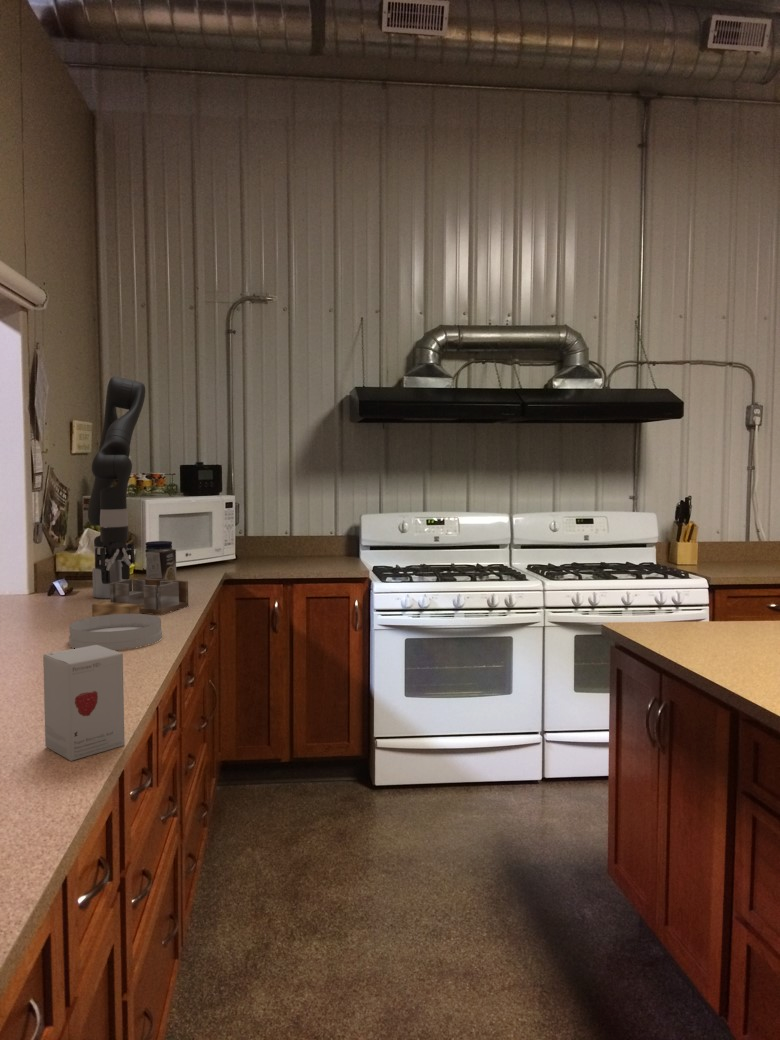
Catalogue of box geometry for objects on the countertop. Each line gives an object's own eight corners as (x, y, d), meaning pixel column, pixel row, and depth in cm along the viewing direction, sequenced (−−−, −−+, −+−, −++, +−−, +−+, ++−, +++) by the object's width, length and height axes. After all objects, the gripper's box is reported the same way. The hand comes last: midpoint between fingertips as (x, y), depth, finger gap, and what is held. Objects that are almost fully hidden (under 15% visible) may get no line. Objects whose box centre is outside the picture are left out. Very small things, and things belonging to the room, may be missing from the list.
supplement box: (70, 762, 110) (66, 663, 109) (44, 747, 116) (40, 653, 115) (127, 745, 117) (124, 652, 116) (99, 732, 123) (96, 643, 122)
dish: (92, 631, 199) (91, 613, 198) (174, 632, 198) (173, 613, 198) (52, 652, 177) (51, 631, 176) (144, 653, 176) (143, 632, 176)
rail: (92, 619, 214) (92, 604, 213) (101, 617, 217) (101, 601, 217) (130, 622, 210) (130, 607, 209) (139, 620, 213) (139, 604, 213)
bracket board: (110, 611, 225) (109, 583, 224) (139, 603, 238) (139, 576, 238) (161, 614, 219) (160, 586, 219) (188, 606, 233) (187, 579, 232)
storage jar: (140, 582, 280) (139, 543, 279) (157, 578, 289) (156, 540, 288) (161, 584, 276) (160, 544, 275) (178, 580, 285) (177, 541, 284)
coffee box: (164, 601, 241) (163, 552, 240) (146, 600, 242) (144, 551, 241) (177, 596, 250) (176, 549, 249) (160, 596, 251) (159, 548, 250)
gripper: (119, 523, 220) (121, 577, 221) (85, 526, 206) (88, 584, 207) (140, 523, 217) (142, 578, 218) (108, 527, 204) (110, 585, 205)
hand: (116, 581), depth 213 cm, fingers open, 8 cm apart
